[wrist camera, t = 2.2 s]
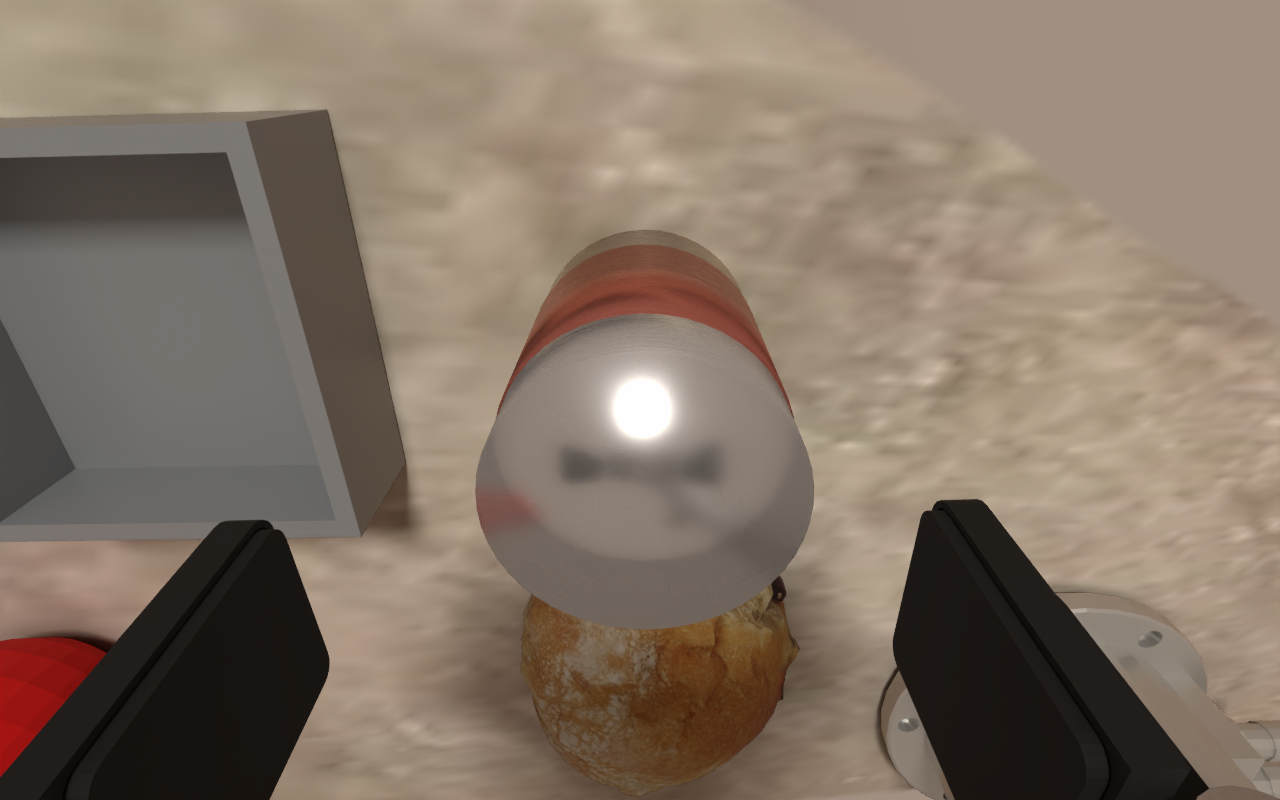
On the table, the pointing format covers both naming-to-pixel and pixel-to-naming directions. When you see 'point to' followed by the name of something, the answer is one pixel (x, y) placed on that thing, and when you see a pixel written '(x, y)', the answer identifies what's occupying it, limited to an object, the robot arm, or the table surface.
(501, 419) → the red drink can
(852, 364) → the table surface
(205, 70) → the table surface
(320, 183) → the crate
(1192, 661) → the robot arm
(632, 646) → the bread roll
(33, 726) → the tomato
